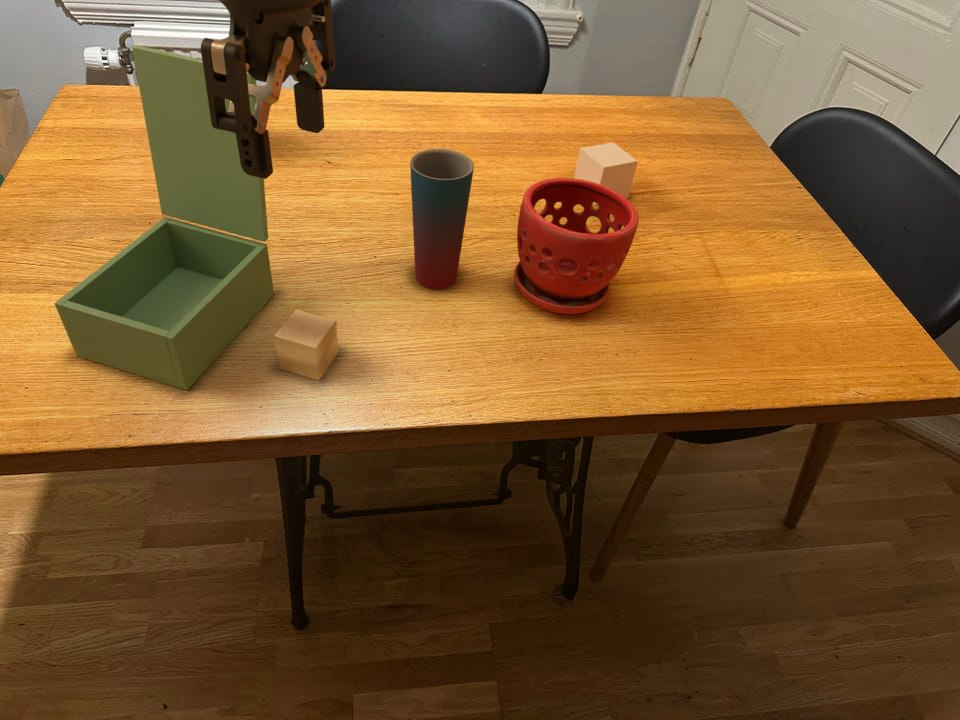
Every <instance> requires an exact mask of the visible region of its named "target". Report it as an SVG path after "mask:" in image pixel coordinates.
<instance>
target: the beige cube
mask: <svg viewBox="0 0 960 720" xmlns="http://www.w3.org/2000/svg"><path fill="white" fill-rule="evenodd" d="M578 151H579V152H578V156H577V162H576V165H575V172H574V176H573V179H581V180H586V181H590V182H594V183H597V184H600V185H603V186H605V187H608V188H610V189H612V190H614V191H616V192H618V193H619V194H621V195H622V196H624V197H625V198H626V199H627V200H628V199H629V197H630V193H631V189H632V185H633V181H634V177H635V174H636V170H637V167H638V163H639V161H638V160H637V159H636V158H635V157H633V156H632V155H631V154H629V153H628V152H627V151H626V150H625V149H623V148H621V147H620V146H619V145H618V144H617V143H616V142H608V143H601V144H596V145H590V146H584V147H580V148H579V150H578ZM592 205H594V206H599V205H598V204H597V203H595V202H593V203H592Z"/></svg>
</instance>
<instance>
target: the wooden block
mask: <svg viewBox="0 0 960 720" xmlns="http://www.w3.org/2000/svg"><path fill="white" fill-rule="evenodd" d="M273 338H274V345H275V350H276V351H275V352H276V359H277V365H278V369H279V370H281V371H285V372H289V373H292V374H294V375H299V376H303V377H305V378H309V379H313V380H316V381H320V380H321V378H322V377H323V375H324V374H325V373H326V372H327V370H328V368H329V367H330V366H331V364H332V363H333V361H334V360H335V358H336V357H337V356H338V354H339V340H338V325H337V320H335V319H332V318H328V317H325V316H322V315H318V314H313V313H310V312H308V311H304V310H301V309H295V310H294V311H293V313H292V314H291V315H290V316H289V317H288V319H287V320H286V321H285V322H284V323H283V324H282V326H281V327H280V328H279V329H278V330H277V331H276V333H275V334H274V336H273Z"/></svg>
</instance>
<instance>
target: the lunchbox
mask: <svg viewBox="0 0 960 720" xmlns="http://www.w3.org/2000/svg"><path fill="white" fill-rule="evenodd" d="M271 269H272V268H271V262H270V255H269V248H268V244H266V243H264V242H261V241H257V240H253V239H249V238H246V237H242V236H238V235H235V234H231V233H227V232H223V231H220V230H216V229H215V230H214V229H212V228H209V227H205V226H204V227H203V226H201V225H197V224H194V223H190V222H186V221H182V220H179V219H175V218H171V217H168V216H164V217H162V218H161V219H160V220H159V221H157V223H155V224H153V226H151V227H150V228H149V229H147V230H146V231H145V232H144V233H142V234H141V235H140V236H139V237H137V238H136V239H134V240H133V241H132V242H130V243H129V244H128V245H127V246H126V247H124V248H122V250H120V251H119V252H118V253H117V254H115V255H114V256H113V257H111V258H110V259H109V260H108V261H107V262H105V263H104V264H102V266H100V267H99V268H97V269H96V270H95V271H93V272H92V273H91V274H90V275H88V276H87V277H86V278H85V279H83V280H82V281H81V282H80V283H78V284H77V285H76V286H74V287H73V288H72V289H71V290H69V291H68V292H67V293H65V294H64V295H63V296H61V297H60V298H59V299H58V300H56V301H55V302H54V306H55V308H56V310H57V313H58V315H59V318H60V320H61V323H62V325H63V327H64V330H65V332H66V334H67V337H68V340H69V343H70V344H71V347H72V349H73V351H74V353H75V354H74V355H75V356H76V357H78V358H81V359H85V360H88V361H91V362H94V363H98V364H101V365H103V366H104V365H105V366H108V367H111V368H113V369H117V370H120V371H123V372H126V373H130V374H133V375H136V376H140V377H142V378H146V379H150V380H152V381H155V382H159V383H162V384H165V385H168V386H171V387H174V388H177V389H181V390H184V391H188V390H189V389H190V388H191V387H192V386H193V385H194V383H195V382H197V380H198V379H199V378H200V377H201V376H202V375H203V373H204V372H206V370H207V369H208V368H209V367H210V366H211V365H212V364H213V362H214V361H216V359H217V358H218V357H219V356H220V355H221V354H222V352H223V351H224V350H226V348H228V346H229V345H230V344H231V343H232V341H234V340H235V338H236V337H237V336H238V335H239V334H240V333H241V332H242V330H243V329H244V328H245V327H246V326H247V325H248V324H249V323H250V322H251V321H252V320H253V318H254V317H255V316H256V315H257V314H258V313H259V312H260V311H261V309H262V308H263V307H264V306H265V305H266V304H267V303H268V301H270V300H271V298H272V297H273V296H274V295H275V291H274V283H273V276H272V270H271Z"/></svg>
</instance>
